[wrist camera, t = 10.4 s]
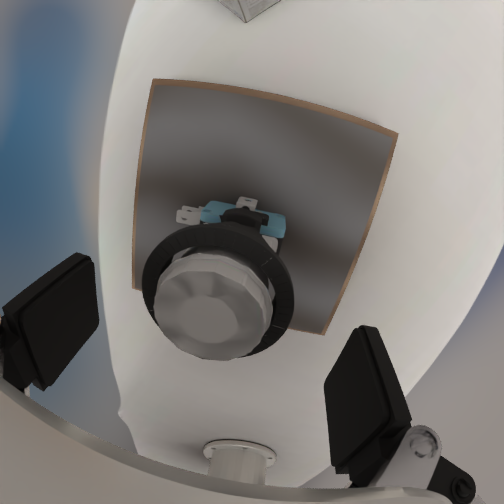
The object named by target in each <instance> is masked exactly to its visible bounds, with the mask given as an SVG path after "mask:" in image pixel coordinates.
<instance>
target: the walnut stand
mask: <svg viewBox="0 0 504 504" xmlns="http://www.w3.org/2000/svg"><path fill="white" fill-rule="evenodd" d="M398 134H399V133H396V132H394V131H391V130H389V129H387V128H384V127H382V126H379V125H377V124H374V123H371V122H369V121H366V120H363V119H360V118H358V117H355V116H352V115H349V114H346V113H343V112H340V111H337V110H334V109H330V108H327V107H324V106H320V105H317V104H313V103H310V102H306V101H302V100H298V99H294V98H290V97H286V96H282V95H278V94H273V93H268V92H263V91H258V90H253V89H248V88H242V87H236V86H229V85H222V84H215V83H206V82H197V81H186V80H173V79H153V80H152V85H151V89H150V94H149V99H148V104H147V109H146V115H145V120H144V126H143V133H142V139H141V146H140V153H139V161H138V170H137V179H136V189H135V202H134V217H133V238H132V288H133V289H136V290H139V291H142V274H143V269H144V266H145V263H146V261H147V259H148V257H149V255H150V254H151V252H152V251H153V250H154V249H155V247H156V246H157V245H158V244H159V243H160V242H161V241H163V240H164V239H165V238H166V237H167V236H169V235H170V234H172V233H173V232H175V231H177V230H179V229H182V228H185V227H188V226H191V225H188V224H183V223H179V222H177V221H176V216H177V211H178V210H182V206H189V207H194V208H199V206H201V207H205V206H206V205H207V204H208V203H209V202H210V201H218V202H223V203H228V204H233V205H236V203H237V201H238V199H239V197H247V198H251V199H256V200H258V202H257V205H256V208H255V209H256V210H261V211H266V212H270V213H274V214H275V213H277V214H281V215H284V216H285V222H286V230H285V234H284V237H283V241H282V245H281V249H280V253H279V257H280V258H281V260H282V261H283V263H284V264H285V266H286V268H287V270H288V272H289V274H290V277H291V280H292V283H293V288H294V312H293V316H292V319H291V322H290V324H289V326H288V329H293V330H298V331H303V332H308V333H313V334H319V335H325V333H326V330H327V328H328V326H329V324H330V322H331V320H332V318H333V316H334V314H335V311H336V309H337V307H338V305H339V303H340V300H341V298H342V296H343V294H344V291H345V289H346V287H347V284H348V282H349V280H350V277H351V275H352V273H353V270H354V268H355V265H356V263H357V260H358V258H359V255H360V253H361V250H362V247H363V245H364V242H365V240H366V237H367V234H368V231H369V229H370V226H371V223H372V220H373V217H374V215H375V212H376V209H377V206H378V203H379V200H380V197H381V193H382V190H383V187H384V184H385V181H386V177H387V174H388V171H389V167H390V164H391V160H392V157H393V153H394V149H395V146H396V142H397V138H398ZM246 201H249V200H246ZM187 211H189V212H192V211H191V210H187ZM182 219H183V220H187V219H186V218H182ZM187 249H188V248H187ZM187 249H185V250H183V251H180V252H178V253H177V254H175V255H174V257H173V260H172V263H173V262H174V261H176V260H178V259H180V258H181V257H182V255H183V254H184V253H185V251H186V250H187ZM268 292H269V296H270V299H271V302H272V300H273V298H274V296H275V291H274V288H273V286H272V284H271V282H270V280H269V289H268Z"/></svg>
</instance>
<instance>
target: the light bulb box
mask: <svg viewBox="0 0 504 504" xmlns="http://www.w3.org/2000/svg"><path fill="white" fill-rule="evenodd" d="M218 1H219V2H221V3H222V4H223V5H224V6H226V7H227V8H228V9H229V10H231V11H232V12H233V13H234V14H236V15H237V16H238V17H239V18H240V19H242V20H243V21H244V22H245V23H247V22H248V21H249V20H251V19H252V18H254V17H255V16H257V15H258V14H260V13H261V12H263V11H264V10H266V9H267V8H269V7H270V6H272V5H273V4H275V3H277V2H278V1H280V0H218Z"/></svg>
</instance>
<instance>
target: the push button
mask: <svg viewBox="0 0 504 504" xmlns="http://www.w3.org/2000/svg"><path fill="white" fill-rule="evenodd" d="M246 200H249V201H246ZM257 202H258V200H256V199H251V198H247V197H239V199H238V201H237V203H236V205H233V204H228V203H223V202H218V201H210V202H209V203H208V204H207V205H206V206H205V207H201V206H199V208H194V207H189V206H182V210H178V211H177V216H176V221H177V222H179V223H183V224H188V225H191V226H188V227H185V228H182V229H179V230H177V231H175V232H173V233H172V234H170V235H169V236H167V237H166V238H165V239H164V240H163V241H161V242H160V243H159V244H158V245H157V246H156V247H155V249H154V250H153V251H152V252H151V254H150V255H149V257H148V259H147V261H146V263H145V266H144V269H143V274H142V293H143V298H144V301H145V304H146V307H147V309H148V311H149V313H150V315H151V317H152V318H153V320H154V321H155V323H156V324H157V325H158V326H159V328H160V330H161V331H162V332H163V334H164V335H165V336H166V337H167V338H168V339H169V340H170V341H171V342H173V343H174V344H175V345H176V346H177V347H178V348H179V349H181V350H182V351H185V352H187V353H189V354H192V355H194V356H196V357H199V358H201V359H208V360H219V361H229V360H231V359H234V358H240V357H246V356H250V355H253V354H256V353H259V352H261V351H263V350H265V349H267V348H268V347H270V346H271V345H273V344H274V343H275V342H276V341H277V340H279V339H280V337H281V336H282V335H283V334H284V333H285V331H286V330H287V328H288V326H289V324H290V322H291V319H292V316H293V312H294V288H293V283H292V280H291V277H290V274H289V272H288V270H287V268H286V266H285V264H284V263H283V261H282V260H281V258H280V257H279V253H280V249H281V245H282V241H283V237H284V234H285V230H286V222H285V216H284V215H281V214H277V213H275V214H274V213H270V212H266V211H261V210H256V209H255V208H256V205H257ZM187 210H191V211H192V212H189V211H187ZM182 218H186V219H187V220H183V219H182ZM187 248H188V249H187ZM185 249H187V250H186V251H185V253H184V254H183V255H182V257H181V258H180V259H178V260H176V261H174V262H173V263H172V260H173V257H174V255H175V254H177V253H178V252H180V251H183V250H185ZM269 280H270V282H271V284H272V286H273V288H274V291H275V296H274V298H273V300H272V302H271V299H270V296H269V292H268V289H269Z"/></svg>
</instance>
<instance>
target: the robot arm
mask: <svg viewBox="0 0 504 504" xmlns="http://www.w3.org/2000/svg"><path fill="white" fill-rule="evenodd" d="M2 309H3V312H4V316H2V317H1V315H0V504H485V503H484V501H483V500H482V499H481V498H480V497H479V495H477V496H476V497H475V493H476V486H475V482H474V480H473V478H472V477H471V476H470V475H469V474H467V473H466V472H465V471H463V470H461V469H460V468H458V467H457V466H455V465H454V464H452V463H451V462H449V461H448V460H447V459H445V458H444V457H442V456H440V455H441V450H442V445H441V441H440V438H439V436H438V435H437V434H436V432H435V431H433V430H432V429H431V428H429V427H427V426H423V425H416V426H413V427H412V426H411V423H410V421H411V420H412V418H411V415H410V412H409V409H408V406H407V403H406V400H405V397H404V395H403V392H402V389H401V386H400V384H399V381H398V378H397V376H396V373H395V370H394V368H393V365H392V363H391V360H390V358H389V355H388V353H387V350H386V348H385V345H384V343H383V340H382V338H381V336H380V333H379V331H378V329H377V328H376V327H370V326H365V325H361V326H359V328H355V329H354V330H353V331H352V333H351V335H350V337H349V339H348V341H347V343H346V345H345V347H344V348H343V350H342V352H341V354H340V356H339V357H338V359H337V361H336V363H335V364H334V366H333V368H332V370H331V371H330V373H329V375H328V376H327V378H326V380H325V383H324V394H325V403H326V412H327V422H328V433H329V444H330V457H331V464H332V466H334V467H335V470H336V474H349V476H350V481H349V482H348V484H347V485H346V486H345V487H344V488H343V489H311V488H289V487H276V486H266V485H265V476H266V468H268V467H270V466H272V465H273V464H275V462H276V454H275V453H274V452H273V451H272V450H270V449H269V448H267V447H264V446H261V445H258V444H255V443H250V442H245V441H235V440H221V441H214V442H211V443H208V444H207V445H205V447H204V451H203V454H204V456H205V457H206V458H207V459H208V460H210V465H209V470H208V474H207V475H203V474H199V473H194V472H191V471H187V470H183V469H180V468H176V467H173V466H170V465H166V464H163V463H160V462H157V461H154V460H151V459H148V458H146V457H143V456H140V455H137V454H135V453H132V452H130V451H127V450H125V449H122V448H120V447H118V446H115V445H113V444H111V443H109V442H106V441H104V440H102V439H100V438H98V437H96V436H94V435H92V434H90V433H88V432H86V431H84V430H82V429H80V428H78V427H76V426H74V425H73V424H71V423H69V422H67V421H65V420H64V419H62V418H60V417H58V416H57V415H55V414H54V413H52V412H50V411H49V410H47V409H46V408H44V407H43V406H41V405H39V404H38V403H36V402H35V401H33V400H32V399H31V398H30V393H29V385H30V384H31V382H32V383H33V385H34V386H36V387H37V388H39V389H40V390H42V391H45V389H46V388H47V387H48V386H51V385H52V384H53V383H54V382H55V381H56V379H57V378H58V377H59V375H60V374H61V373H62V371H63V370H64V369H65V368H66V366H67V365H68V364H69V362H70V361H71V360H72V359H73V357H74V356H75V355H76V353H77V352H78V351H79V349H80V348H81V347H82V346H83V344H85V342H86V341H87V340H88V339H89V337H90V336H91V335H92V334H93V333H94V331H95V330H96V329H97V327H98V325H99V315H98V306H97V296H96V284H95V269H94V263H93V262H92V260H91V258H90V257H89V256H87V255H83V254H81V253H75V254H73V255H71V256H70V257H68V258H67V259H65V260H64V261H62V262H61V263H60V264H58V265H57V266H55V267H54V268H53V269H51V270H50V271H48V272H47V273H46V274H44V275H43V276H42V277H40V278H39V279H38V280H37V281H35V282H34V283H32V284H31V285H30V286H29V287H27V288H26V289H24V290H23V291H22V292H21V293H19V294H18V295H17V296H16V297H14V298H13V299H12V300H11V301H9V302H8V303H7V304H6V305H5V306H3V307H2Z"/></svg>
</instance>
